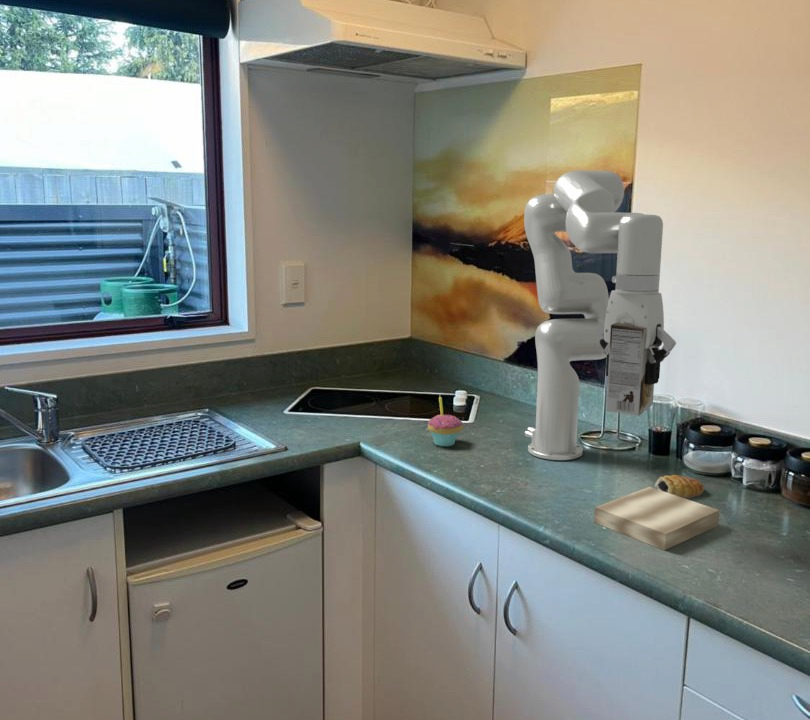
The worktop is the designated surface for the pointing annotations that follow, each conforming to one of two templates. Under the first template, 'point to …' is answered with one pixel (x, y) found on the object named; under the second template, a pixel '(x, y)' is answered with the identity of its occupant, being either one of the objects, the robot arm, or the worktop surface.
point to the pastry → (679, 486)
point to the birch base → (656, 517)
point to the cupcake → (444, 428)
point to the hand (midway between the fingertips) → (631, 379)
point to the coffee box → (628, 371)
